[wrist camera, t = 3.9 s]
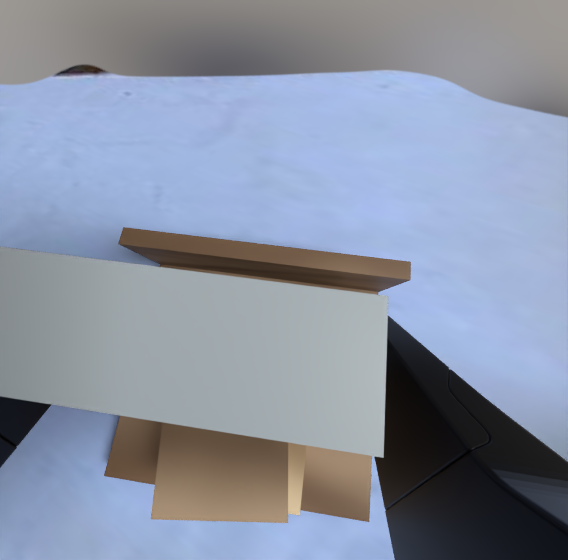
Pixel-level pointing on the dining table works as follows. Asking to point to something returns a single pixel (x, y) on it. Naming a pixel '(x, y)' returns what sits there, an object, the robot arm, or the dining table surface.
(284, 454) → the offcut stack
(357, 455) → the walnut rack
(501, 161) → the dining table surface
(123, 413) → the gray rectangular block
